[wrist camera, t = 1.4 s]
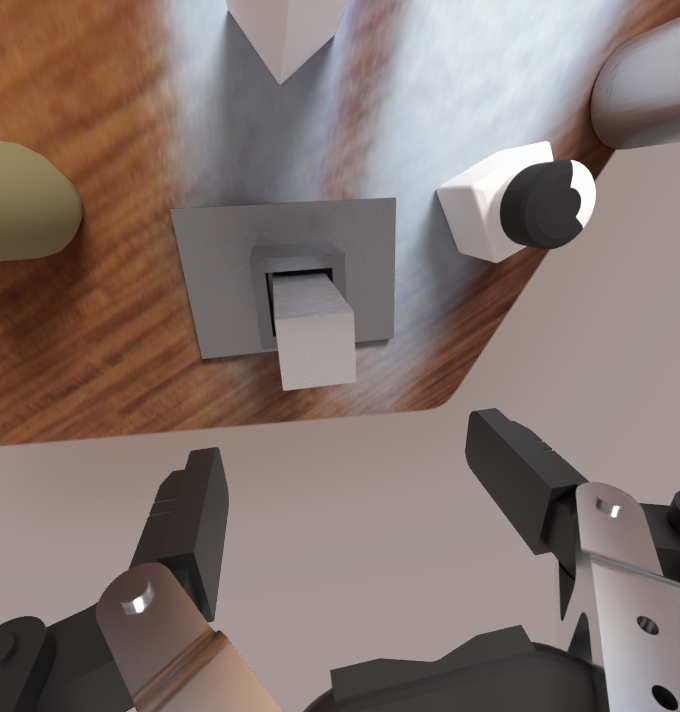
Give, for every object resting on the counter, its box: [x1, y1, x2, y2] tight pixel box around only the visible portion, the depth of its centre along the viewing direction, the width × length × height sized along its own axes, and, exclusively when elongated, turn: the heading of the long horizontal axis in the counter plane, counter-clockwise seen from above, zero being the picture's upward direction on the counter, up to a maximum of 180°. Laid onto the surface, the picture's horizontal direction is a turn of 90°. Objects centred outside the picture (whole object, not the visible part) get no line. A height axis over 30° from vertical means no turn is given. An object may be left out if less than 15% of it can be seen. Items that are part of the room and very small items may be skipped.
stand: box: [170, 198, 396, 359], centre depth 32 cm, size 20×14×10 cm
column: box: [272, 269, 356, 391], centre depth 27 cm, size 4×4×18 cm
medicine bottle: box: [436, 141, 596, 263], centre depth 31 cm, size 7×7×12 cm
